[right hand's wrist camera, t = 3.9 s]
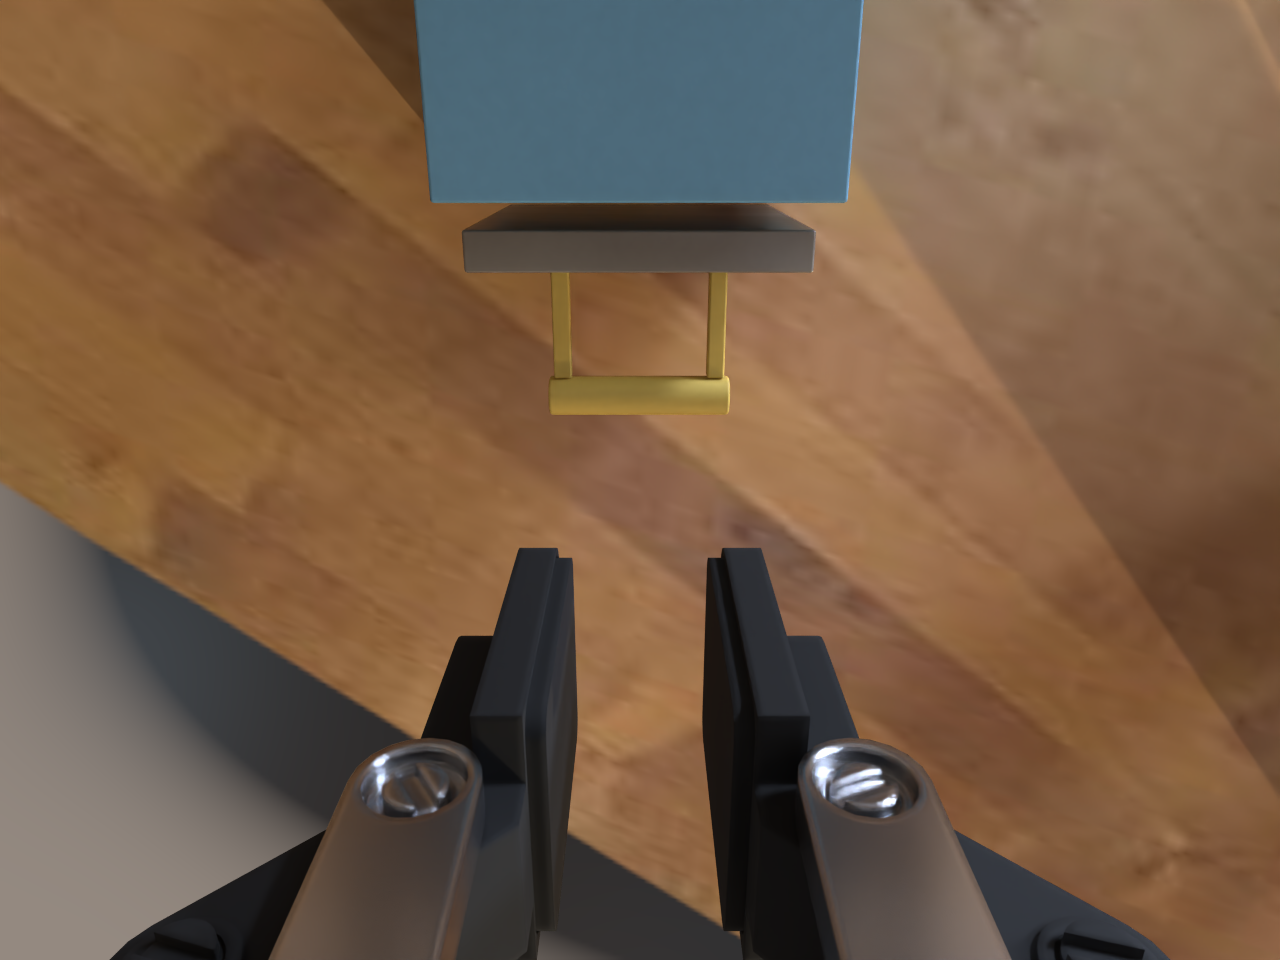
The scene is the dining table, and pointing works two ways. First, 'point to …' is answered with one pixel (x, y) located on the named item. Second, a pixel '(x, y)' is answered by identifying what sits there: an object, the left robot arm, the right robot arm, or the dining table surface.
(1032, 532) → the dining table surface
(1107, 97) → the dining table surface
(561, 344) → the drawer
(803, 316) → the dining table surface
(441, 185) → the cabinet
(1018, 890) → the right robot arm
